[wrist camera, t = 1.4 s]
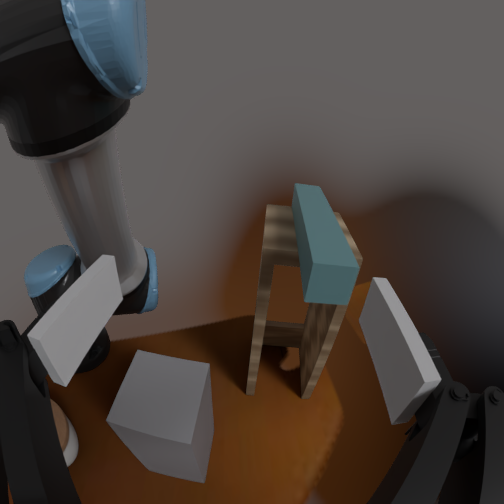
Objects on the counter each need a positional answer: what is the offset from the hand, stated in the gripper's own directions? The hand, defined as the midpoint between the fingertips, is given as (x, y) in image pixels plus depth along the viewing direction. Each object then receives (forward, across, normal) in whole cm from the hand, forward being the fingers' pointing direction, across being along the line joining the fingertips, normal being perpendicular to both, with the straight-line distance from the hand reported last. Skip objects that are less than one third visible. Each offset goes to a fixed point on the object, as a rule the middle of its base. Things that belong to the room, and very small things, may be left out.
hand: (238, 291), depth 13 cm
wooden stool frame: (+27, +7, -37) cm, 46 cm away
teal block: (+20, +7, -6) cm, 23 cm away
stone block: (+6, -9, -37) cm, 39 cm away
